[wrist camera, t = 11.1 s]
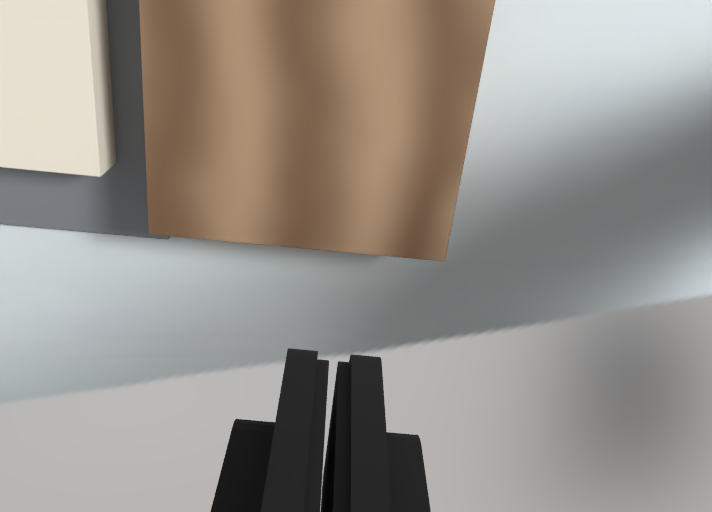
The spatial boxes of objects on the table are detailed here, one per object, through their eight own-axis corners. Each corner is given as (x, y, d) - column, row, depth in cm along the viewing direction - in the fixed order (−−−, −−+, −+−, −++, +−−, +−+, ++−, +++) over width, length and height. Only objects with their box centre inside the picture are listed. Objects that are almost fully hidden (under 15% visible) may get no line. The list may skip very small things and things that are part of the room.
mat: (160, -105, 29) (158, -106, 29) (169, 237, 37) (167, 239, 37) (-192, -150, 28) (-197, -151, 28) (-106, 212, 36) (-110, 213, 36)
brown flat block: (480, -20, 31) (498, -17, 27) (435, 232, 37) (444, 261, 33) (161, -58, 30) (136, -61, 26) (168, 206, 36) (148, 234, 32)
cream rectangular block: (-48, -23, 28) (-18, -25, 30) (-17, 165, 32) (7, 151, 34) (86, -8, 28) (105, -10, 30) (100, 176, 32) (116, 162, 34)
